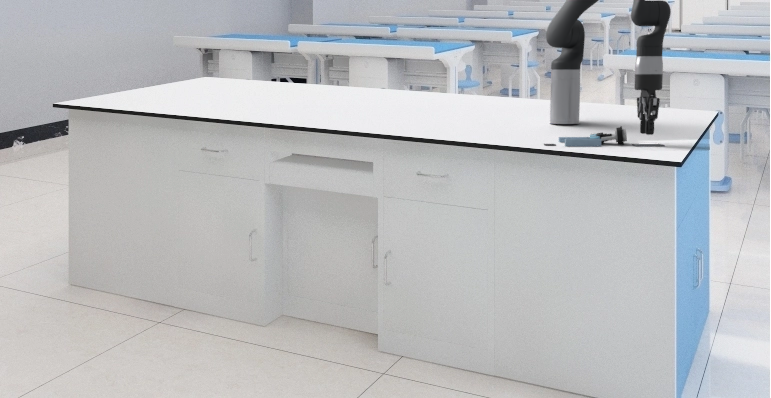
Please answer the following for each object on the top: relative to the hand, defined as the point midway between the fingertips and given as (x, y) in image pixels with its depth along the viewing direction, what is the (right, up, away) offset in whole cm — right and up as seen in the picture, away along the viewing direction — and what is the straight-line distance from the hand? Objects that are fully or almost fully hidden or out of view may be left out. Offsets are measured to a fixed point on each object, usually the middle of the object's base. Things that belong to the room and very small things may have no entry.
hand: (646, 133), depth 263 cm
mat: (0, -3, 0) cm, 3 cm away
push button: (-16, -2, +2) cm, 16 cm away
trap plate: (-27, -3, +3) cm, 27 cm away
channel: (-19, -3, +2) cm, 19 cm away
